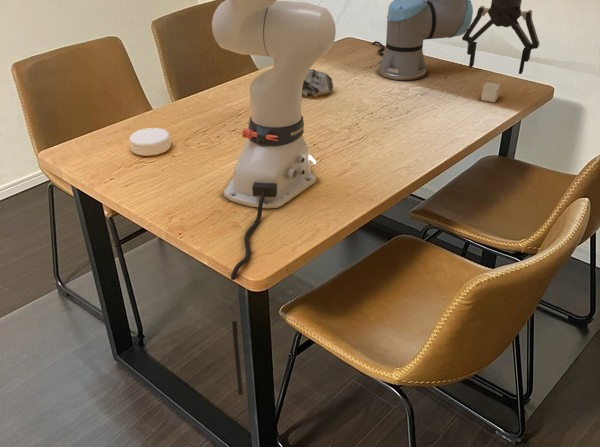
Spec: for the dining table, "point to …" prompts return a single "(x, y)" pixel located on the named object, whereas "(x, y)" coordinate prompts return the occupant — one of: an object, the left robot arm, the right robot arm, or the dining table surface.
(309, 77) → the rock
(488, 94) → the light grey cube
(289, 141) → the left robot arm
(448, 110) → the dining table surface
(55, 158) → the dining table surface
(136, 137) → the white round disc
